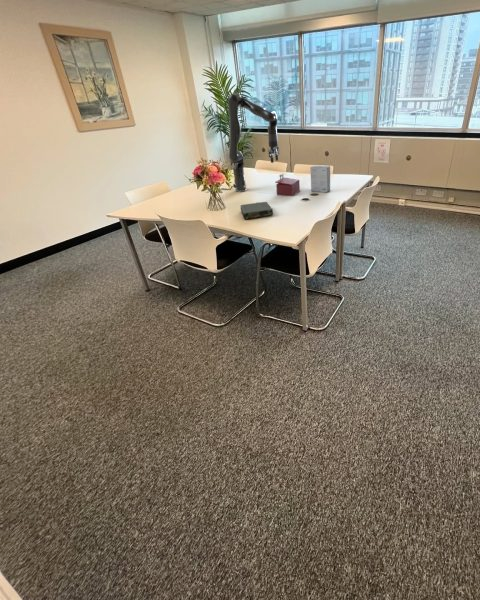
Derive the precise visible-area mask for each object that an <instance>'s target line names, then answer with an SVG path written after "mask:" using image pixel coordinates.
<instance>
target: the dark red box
mask: <svg viewBox="0 0 480 600" xmlns="http://www.w3.org/2000/svg"><path fill="white" fill-rule="evenodd" d="M275 184H276V185H275V186H276V195H277V196H286V197H293V196H295V195H296V194H298V193H299V192H301V188H300V186H301V185H300V180H299V181H298V182H296V183H295V184H293V185H286V184H280V183H275Z"/></svg>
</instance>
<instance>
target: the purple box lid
mask: <svg viewBox="0 0 480 600" xmlns="http://www.w3.org/2000/svg"><path fill="white" fill-rule="evenodd" d="M298 181H299V182H300V179H296V178H290V177H285V174H284V173H280V174H279V179H278V180H276V181H275V184H278V183H280V184H286V185H293V184H295V183H296V182H298Z"/></svg>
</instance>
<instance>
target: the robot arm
mask: <svg viewBox="0 0 480 600" xmlns="http://www.w3.org/2000/svg"><path fill="white" fill-rule="evenodd" d="M227 105H228V112H229V114H228V116H229V117H228V119H229V151H228V158H229V161H230V162H231V164H234V166H233V167H232V172H233V178H234V179H233V181H234V183H233V184H232V186H231V187H230V188H224V187H223V188H222V187H221V189H220V190H225V191H226V190H227V191H229V190H232V189H233V188H234V189H235V191H236V192H238V193H239V192H240V193H243V192H246V191H248V190H247V184H246V176H245V171H244V169H245V168H244V167H245V162H244V155H243V153H242V151H240V150H238V146H239V143H240V139H241V136H242V126H241V121H240V119H239V113H238V112H239V107H240V108H243V109H245V110H248V111H249V112H250V113H251V114H253V115H255V116H257V117H258V118H262V119H263V120H264V121H265V122H269V123H268V126H267V135H268V136H267V138H268V139H267V140H268V141H267V142H268V147H269V149H268V158H270V163H271V164H273V163H274V159H275V161H276V162H277V161H279V155H280V147H279V139H278V130H277V129H278V127H277V125H278V115H277V112H275V111H274V110H272V111H269V110H267V109H266V108H265V107H263V106H262V105H261V106H260V105H259V104H256V103H255V102H252V101H250V100H248V99H247V98H245V97H244V96H243V95H241V94H240V93H237V92H236V93H235V92H234V93H231V94H229V95H228V98H227ZM274 157H275V158H274Z"/></svg>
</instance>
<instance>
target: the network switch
mask: <svg viewBox="0 0 480 600" xmlns="http://www.w3.org/2000/svg"><path fill="white" fill-rule="evenodd" d="M273 210H274V209H272V207H271V205H270V204H269V203H268V201H261V202H260V201H259V202H252V203H246V204H244V203H243V204H241V205H240V211H241V215H242V217H243V219H244V220H245V221H247V220H248V219H254V218H261V217H267V216H274V211H273Z"/></svg>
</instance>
